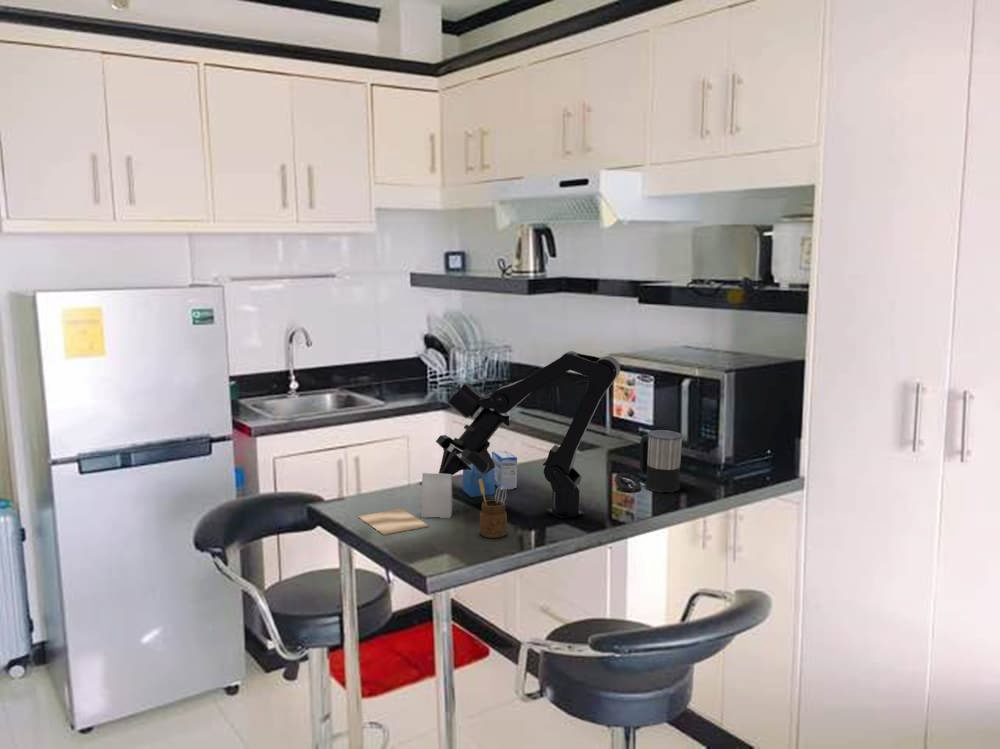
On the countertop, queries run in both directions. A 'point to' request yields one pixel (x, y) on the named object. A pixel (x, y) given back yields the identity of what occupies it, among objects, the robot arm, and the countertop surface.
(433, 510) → the small cardboard carton
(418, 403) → the countertop surface
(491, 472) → the perfume bottle
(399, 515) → the cork mat
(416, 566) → the countertop surface
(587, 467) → the countertop surface
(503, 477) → the medicine box
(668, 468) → the milk frother
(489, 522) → the utensil holder
